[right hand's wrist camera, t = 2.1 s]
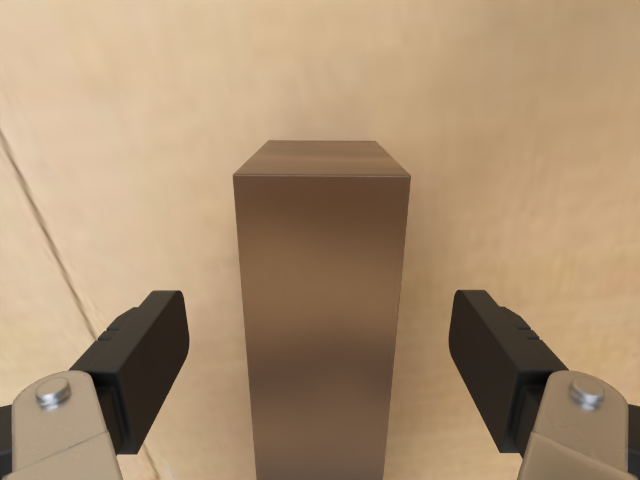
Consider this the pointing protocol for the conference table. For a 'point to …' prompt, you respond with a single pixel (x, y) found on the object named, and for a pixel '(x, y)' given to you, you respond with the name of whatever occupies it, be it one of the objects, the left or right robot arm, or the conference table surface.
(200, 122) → the conference table surface
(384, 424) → the bar
